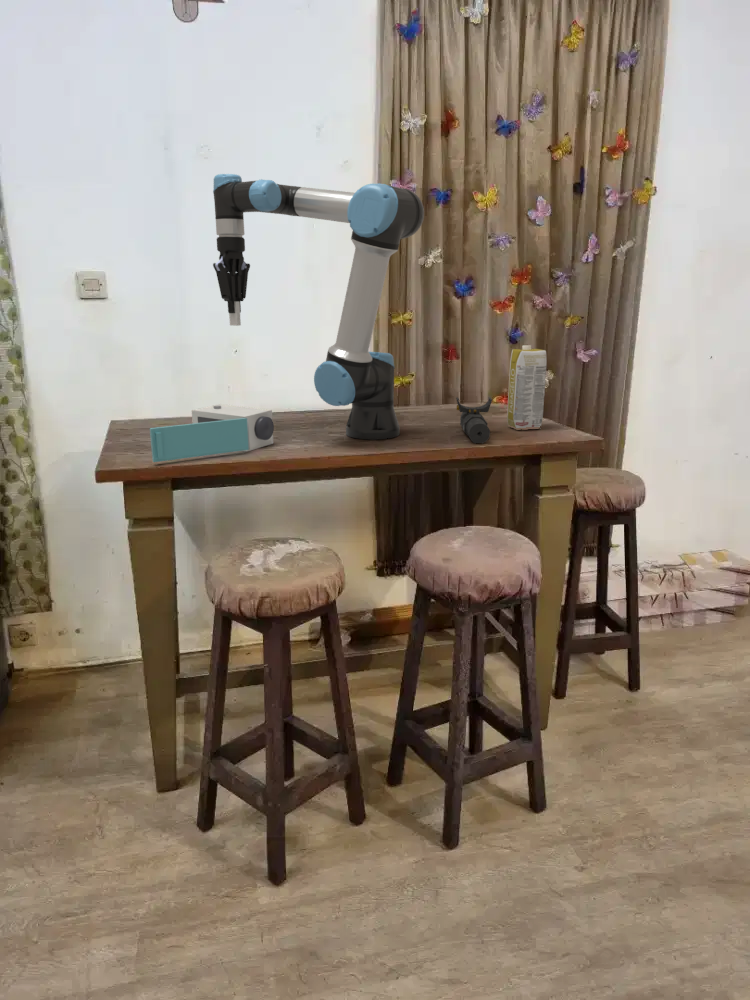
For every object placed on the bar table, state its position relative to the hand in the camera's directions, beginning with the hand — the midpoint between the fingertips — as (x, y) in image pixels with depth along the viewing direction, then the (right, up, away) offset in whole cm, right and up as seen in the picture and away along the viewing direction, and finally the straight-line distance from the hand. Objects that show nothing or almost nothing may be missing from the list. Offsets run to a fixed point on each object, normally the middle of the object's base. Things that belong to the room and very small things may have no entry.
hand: (235, 325), depth 205 cm
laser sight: (+67, -32, 0) cm, 74 cm away
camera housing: (+2, -34, -11) cm, 36 cm away
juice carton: (+83, -28, +9) cm, 88 cm away
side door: (-2, -38, -27) cm, 47 cm away
